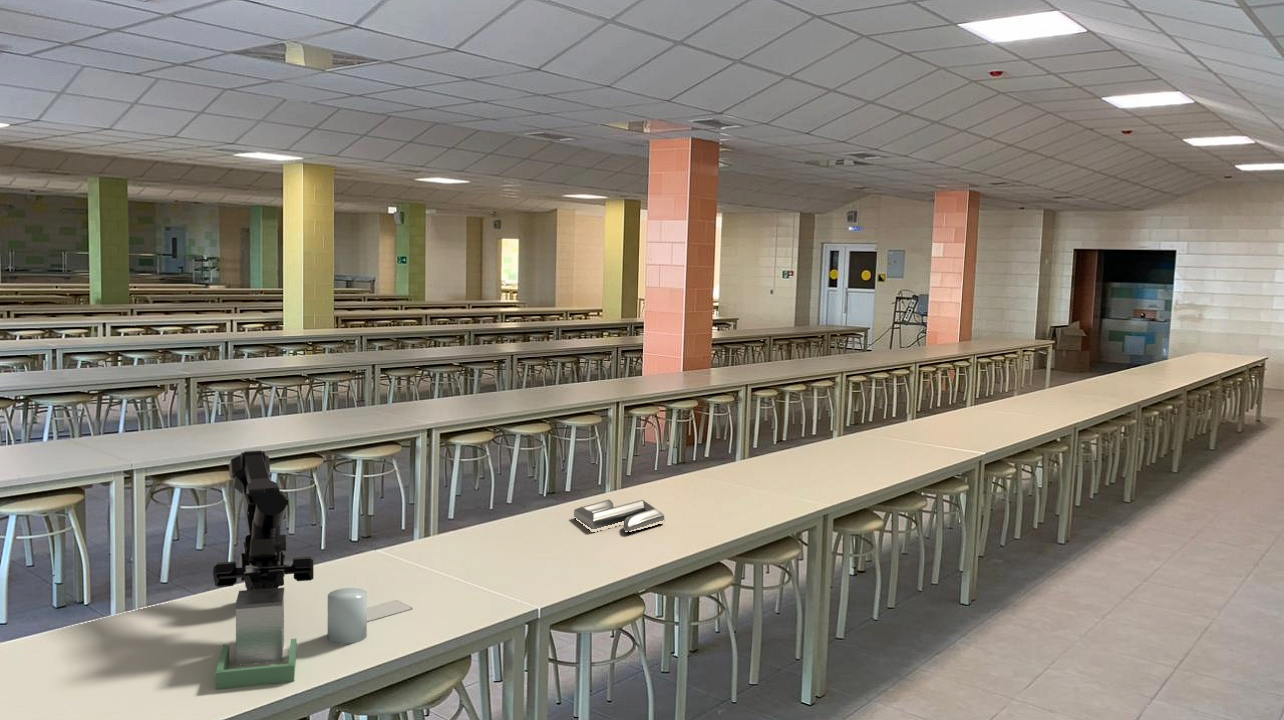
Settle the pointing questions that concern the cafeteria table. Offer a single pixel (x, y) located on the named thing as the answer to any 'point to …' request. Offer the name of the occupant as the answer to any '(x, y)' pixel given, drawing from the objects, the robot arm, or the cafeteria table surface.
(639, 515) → the emblem
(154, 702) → the cafeteria table surface
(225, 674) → the bay
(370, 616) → the smartphone
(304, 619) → the cafeteria table surface
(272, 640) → the tin
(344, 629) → the round-topped grey cylinder
